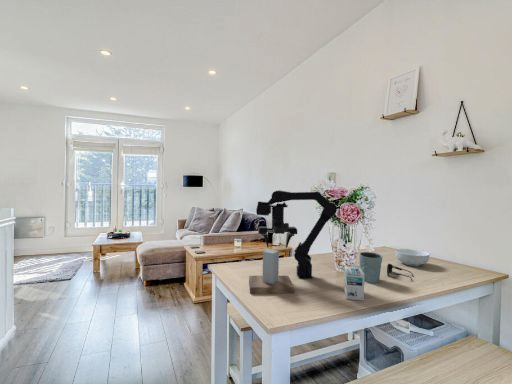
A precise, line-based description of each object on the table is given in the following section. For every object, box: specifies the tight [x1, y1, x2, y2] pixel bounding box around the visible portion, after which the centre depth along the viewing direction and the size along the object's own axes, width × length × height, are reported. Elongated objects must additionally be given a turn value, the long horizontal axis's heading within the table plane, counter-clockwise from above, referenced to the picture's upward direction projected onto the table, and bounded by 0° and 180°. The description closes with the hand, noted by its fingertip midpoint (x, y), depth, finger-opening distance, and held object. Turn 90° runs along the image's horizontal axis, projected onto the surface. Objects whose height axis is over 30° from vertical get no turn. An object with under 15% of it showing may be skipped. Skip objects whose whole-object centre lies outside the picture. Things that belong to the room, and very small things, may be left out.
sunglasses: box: [386, 263, 415, 281], centre depth 138 cm, size 10×12×5 cm
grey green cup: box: [358, 251, 383, 284], centre depth 132 cm, size 10×10×12 cm
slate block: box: [262, 249, 280, 284], centre depth 121 cm, size 5×5×13 cm
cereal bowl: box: [394, 248, 430, 267], centre depth 159 cm, size 17×17×7 cm
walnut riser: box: [248, 275, 295, 294], centre depth 121 cm, size 18×14×2 cm
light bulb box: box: [343, 264, 365, 301], centre depth 114 cm, size 11×7×11 cm, turn 168°
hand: (277, 247), depth 138 cm, fingers open, 9 cm apart
